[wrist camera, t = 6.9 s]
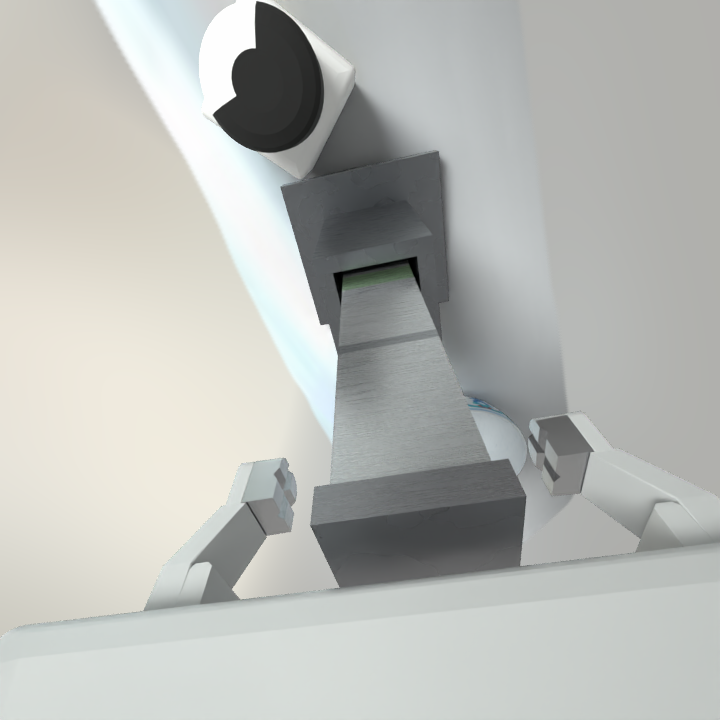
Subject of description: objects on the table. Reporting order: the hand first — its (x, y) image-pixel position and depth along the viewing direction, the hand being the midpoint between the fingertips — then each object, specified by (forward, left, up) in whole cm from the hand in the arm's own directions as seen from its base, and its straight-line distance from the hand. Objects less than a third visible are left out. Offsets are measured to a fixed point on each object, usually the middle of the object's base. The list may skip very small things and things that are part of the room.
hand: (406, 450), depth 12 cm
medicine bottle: (-12, -4, -26) cm, 29 cm away
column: (0, 0, -18) cm, 18 cm away
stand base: (0, 0, -26) cm, 26 cm away
